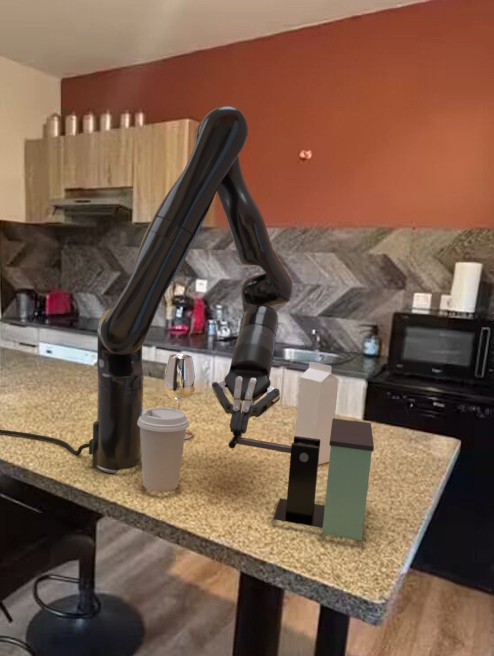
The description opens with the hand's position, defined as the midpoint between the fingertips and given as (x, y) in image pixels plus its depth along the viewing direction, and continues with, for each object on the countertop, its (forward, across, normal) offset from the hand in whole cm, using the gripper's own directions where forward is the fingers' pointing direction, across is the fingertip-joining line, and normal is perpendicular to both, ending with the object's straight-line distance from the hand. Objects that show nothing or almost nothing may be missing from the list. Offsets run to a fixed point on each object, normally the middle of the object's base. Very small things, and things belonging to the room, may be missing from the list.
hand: (237, 433), depth 96 cm
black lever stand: (+10, +12, +10) cm, 18 cm away
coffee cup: (+8, -14, +11) cm, 20 cm away
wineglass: (-15, -21, +34) cm, 43 cm away
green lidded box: (+10, +19, +10) cm, 23 cm away
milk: (-12, +12, +32) cm, 36 cm away
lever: (+2, +6, +2) cm, 7 cm away
